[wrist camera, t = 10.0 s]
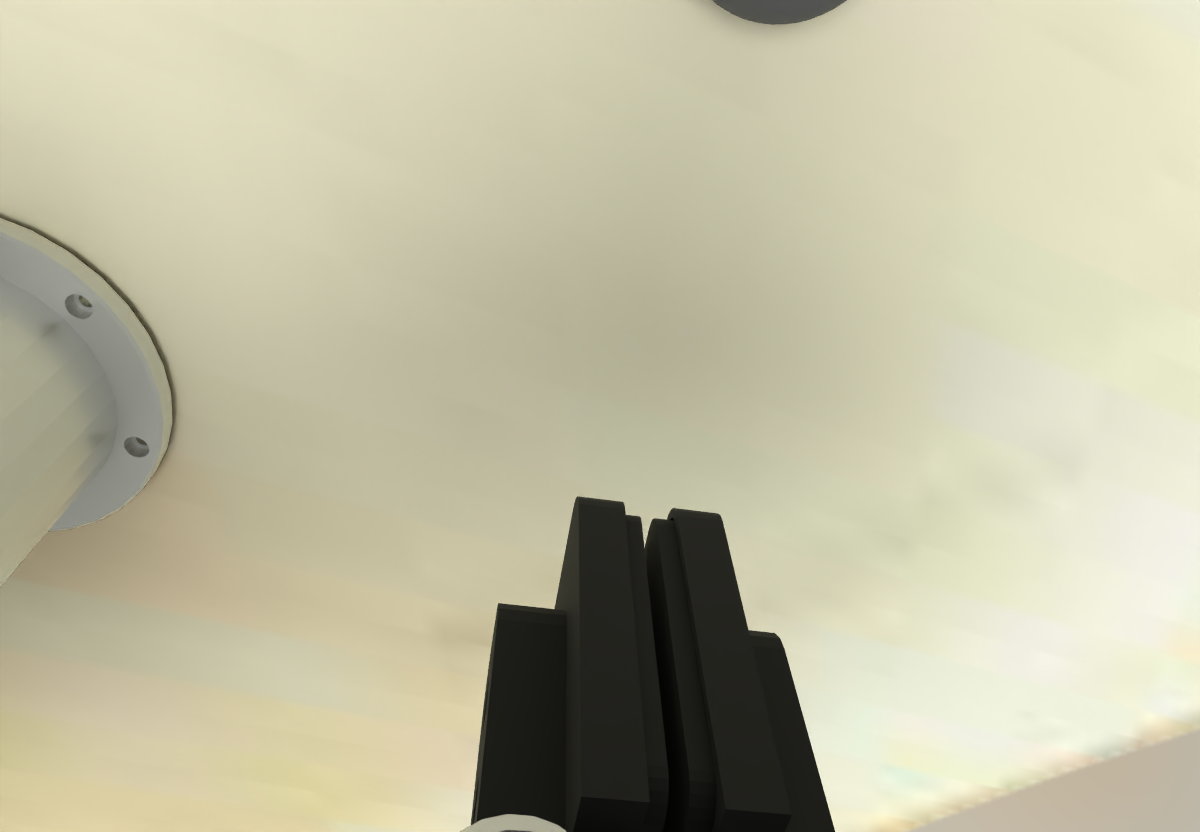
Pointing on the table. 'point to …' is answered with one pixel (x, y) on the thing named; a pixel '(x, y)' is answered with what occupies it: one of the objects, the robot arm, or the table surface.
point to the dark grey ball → (778, 9)
